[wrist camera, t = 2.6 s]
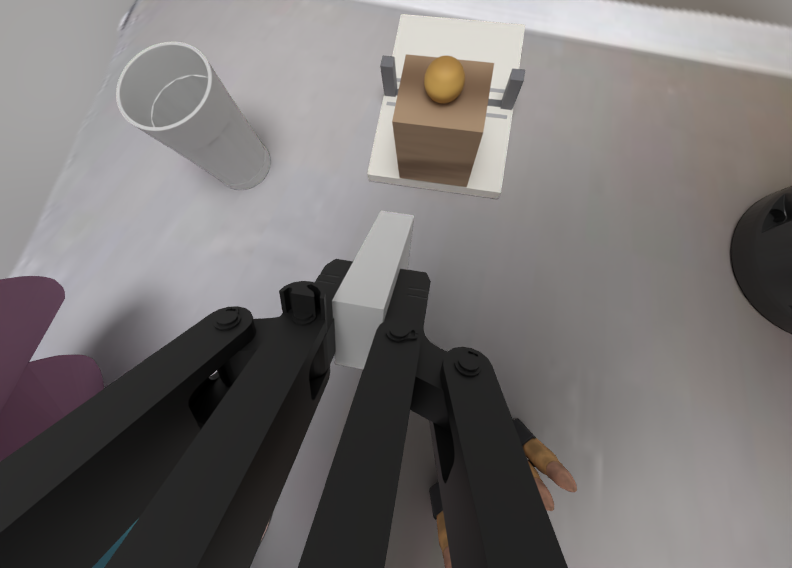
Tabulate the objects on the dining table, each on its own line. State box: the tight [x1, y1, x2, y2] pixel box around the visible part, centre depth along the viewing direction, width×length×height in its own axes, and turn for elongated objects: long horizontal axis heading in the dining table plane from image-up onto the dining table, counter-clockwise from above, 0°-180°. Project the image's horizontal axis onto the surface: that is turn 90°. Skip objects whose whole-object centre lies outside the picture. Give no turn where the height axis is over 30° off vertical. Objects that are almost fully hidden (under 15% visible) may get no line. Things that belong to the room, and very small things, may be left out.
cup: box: [116, 42, 270, 190], centre depth 32 cm, size 8×8×12 cm
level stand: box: [367, 14, 525, 199], centre depth 34 cm, size 20×14×6 cm
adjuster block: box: [392, 54, 494, 187], centre depth 29 cm, size 6×7×12 cm
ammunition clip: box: [430, 419, 577, 568], centre depth 25 cm, size 11×2×12 cm, turn 127°
